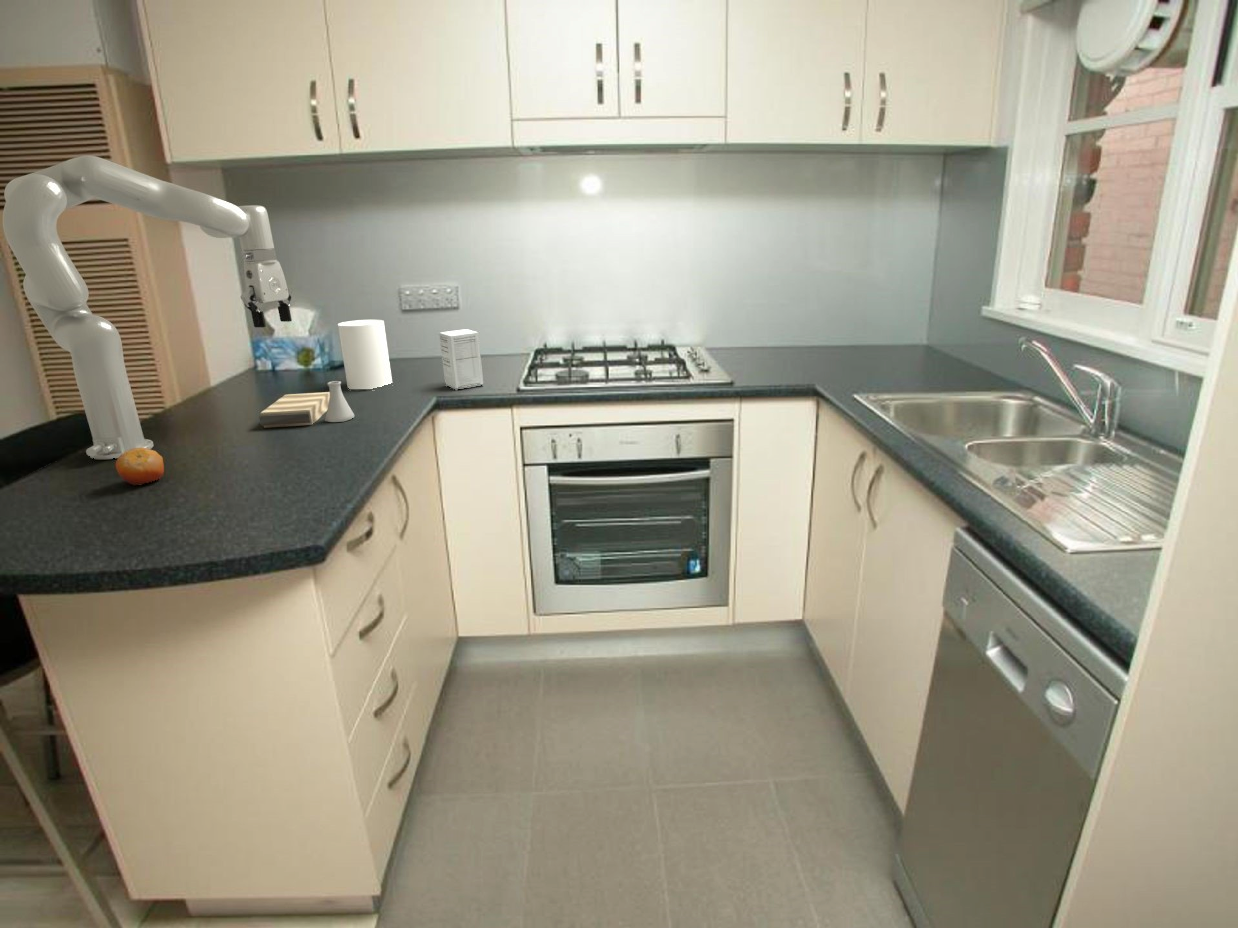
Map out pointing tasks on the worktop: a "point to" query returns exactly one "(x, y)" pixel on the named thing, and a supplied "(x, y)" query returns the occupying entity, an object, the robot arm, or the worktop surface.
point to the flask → (337, 405)
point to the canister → (365, 354)
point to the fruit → (140, 466)
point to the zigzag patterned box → (295, 410)
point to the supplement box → (461, 358)
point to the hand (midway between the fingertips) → (273, 324)
